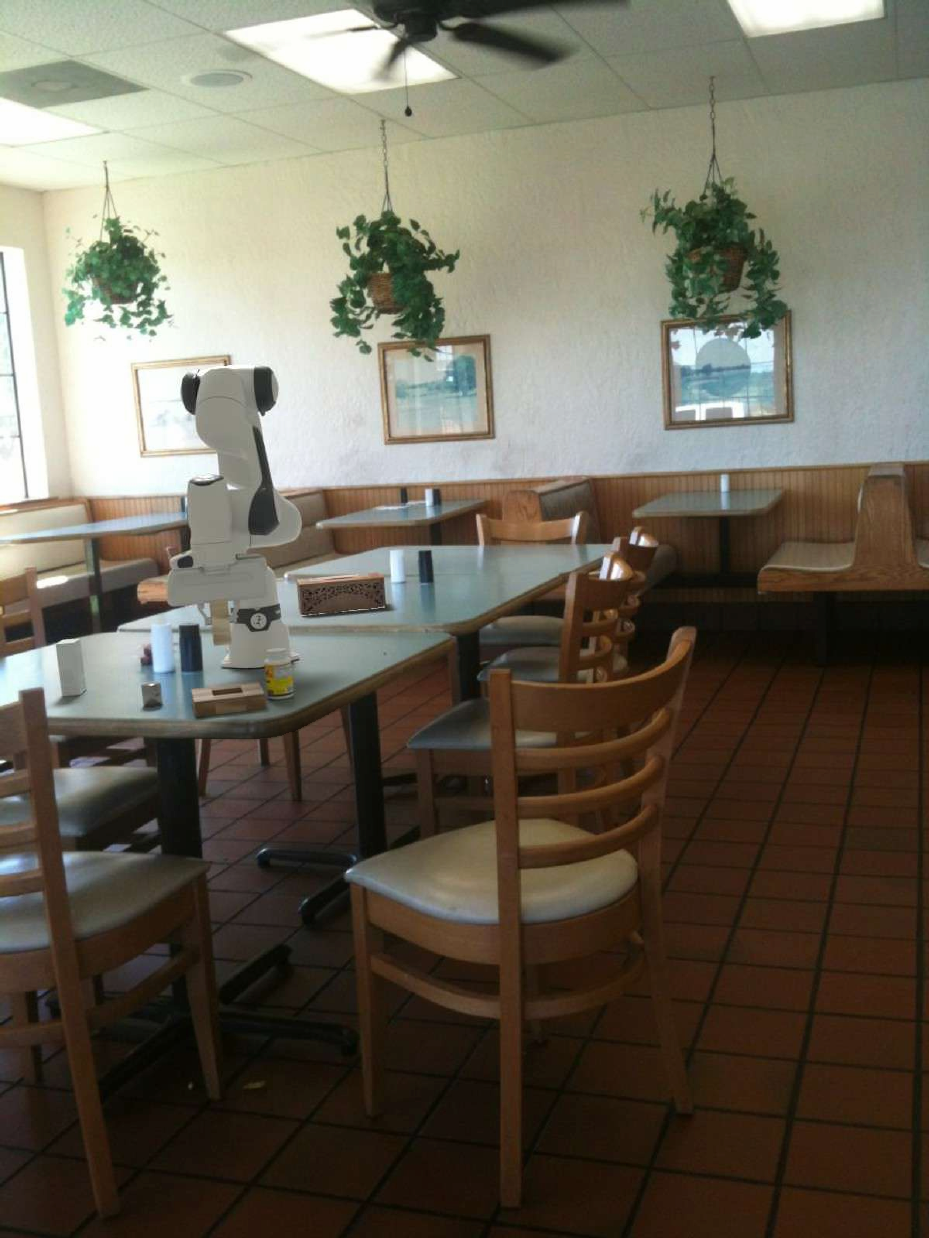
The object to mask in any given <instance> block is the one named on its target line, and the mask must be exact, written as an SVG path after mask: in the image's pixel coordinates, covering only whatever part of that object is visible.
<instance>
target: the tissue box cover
mask: <svg viewBox="0 0 929 1238" xmlns="http://www.w3.org/2000/svg"><path fill="white" fill-rule="evenodd" d="M295 582H296V590H297V591H296V593H297V601H298V602H297V603H298V611H299V610H300V611H299V613H300V615H301V614H302V615H309V614H319V613H334V614H336V613H335V612H342V611H349V610H358V609H371V608H378V607H383V606H386V607H387V601H386V590H385V587H386V586H385V577H384V576H383V575H382V574H381V573H380V572H368V573H356V574H344V575H333V576H321V577H310V578H298V579H296V581H295Z"/></svg>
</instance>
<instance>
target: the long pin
mask: <svg viewBox="0 0 929 1238" xmlns="http://www.w3.org/2000/svg"><path fill="white" fill-rule="evenodd" d="M208 604H209V614H210V616H211V618H212V620H211V621H212V625H211V632H212V642H213V643H212V644H213V646H214V647H218V646H225V645H227V644H232V640H231V629H230V628H231V623H230V619H229V614H230V611H229V601H228V598H227V599H217V600H210V603H208Z"/></svg>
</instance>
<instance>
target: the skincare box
mask: <svg viewBox="0 0 929 1238" xmlns="http://www.w3.org/2000/svg"><path fill="white" fill-rule="evenodd" d="M81 642H82V641H81V638H71V639H70V638H67V639H62V640H60V641H58V642H57V643H56V644H55V651H56V659H57V667H58V674H59V681H60V682H59V683H60V690H61V696H62V697H72V696H73V697H74V696H80V695H82V694H83V693H84V692H85V691H86V690H87V683H86V676H85V667H84V660H83V652H82V651H83V650H82V643H81Z"/></svg>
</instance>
